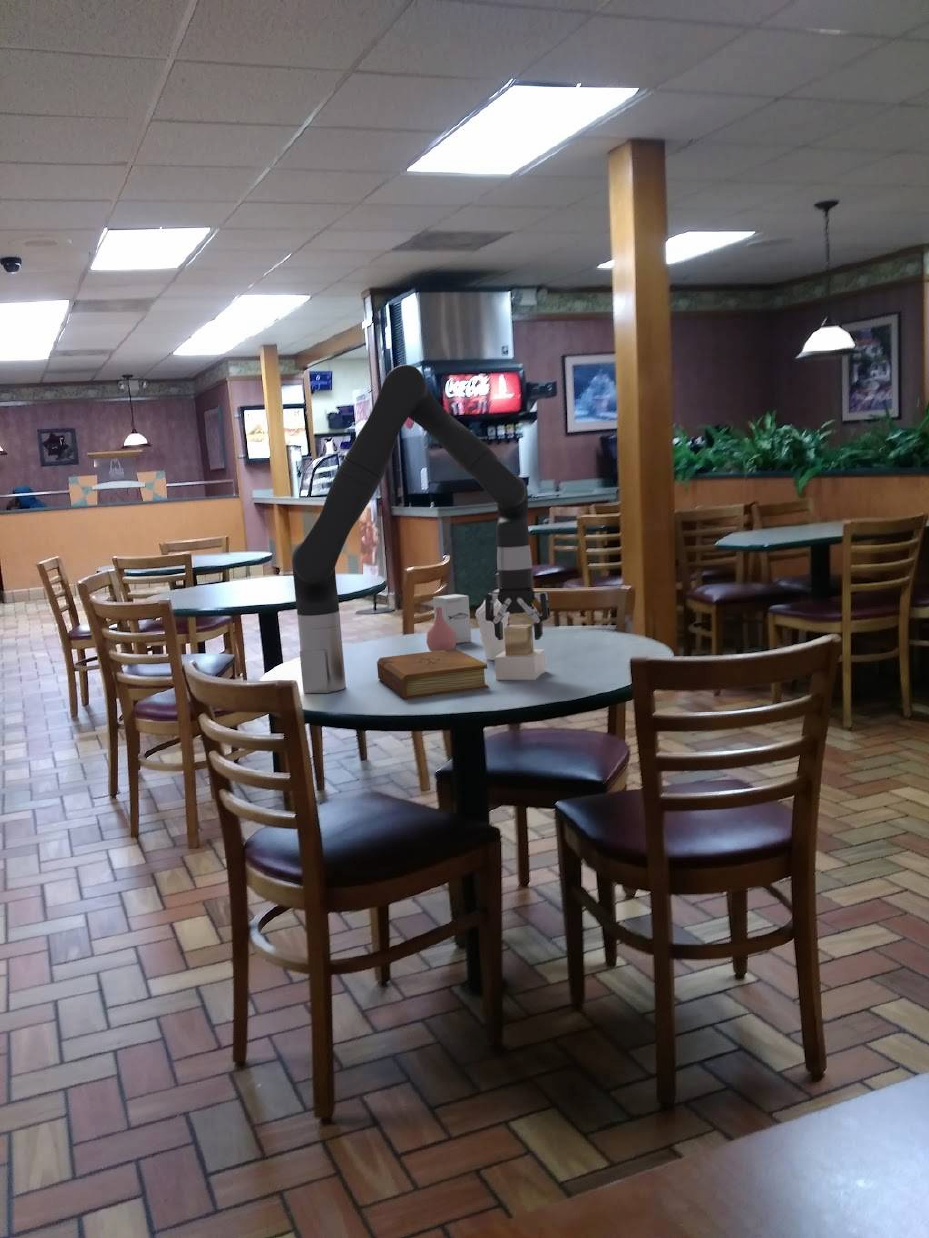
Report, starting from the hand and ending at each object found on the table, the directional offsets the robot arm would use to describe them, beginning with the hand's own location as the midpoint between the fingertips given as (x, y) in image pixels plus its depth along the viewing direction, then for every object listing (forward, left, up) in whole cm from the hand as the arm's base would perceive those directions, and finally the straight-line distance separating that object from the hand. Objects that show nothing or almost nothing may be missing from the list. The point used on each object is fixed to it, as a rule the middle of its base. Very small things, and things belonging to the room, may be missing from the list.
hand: (519, 639), depth 226 cm
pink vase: (+25, +28, -8) cm, 38 cm away
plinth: (0, 0, -8) cm, 8 cm away
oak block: (0, 0, -3) cm, 3 cm away
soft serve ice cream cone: (+19, +12, -8) cm, 24 cm away
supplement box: (+42, +31, -8) cm, 53 cm away
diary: (-9, +18, -9) cm, 22 cm away
